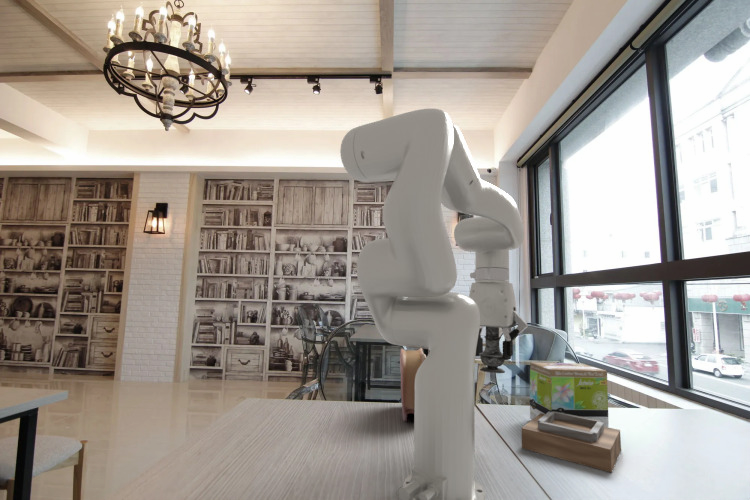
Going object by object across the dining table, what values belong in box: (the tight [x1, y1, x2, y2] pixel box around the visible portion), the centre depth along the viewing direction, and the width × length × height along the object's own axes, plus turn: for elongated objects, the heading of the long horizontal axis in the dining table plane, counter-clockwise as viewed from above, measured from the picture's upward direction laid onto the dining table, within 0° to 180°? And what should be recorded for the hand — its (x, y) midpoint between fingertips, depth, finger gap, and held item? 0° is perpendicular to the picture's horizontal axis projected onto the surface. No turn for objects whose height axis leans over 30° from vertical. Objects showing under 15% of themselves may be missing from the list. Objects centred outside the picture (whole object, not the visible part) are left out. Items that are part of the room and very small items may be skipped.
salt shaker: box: [479, 327, 506, 374], centre depth 84 cm, size 6×6×12 cm
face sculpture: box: [399, 348, 427, 423], centre depth 99 cm, size 20×7×17 cm, turn 179°
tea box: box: [529, 361, 609, 428], centre depth 94 cm, size 15×10×15 cm, turn 97°
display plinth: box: [521, 411, 622, 474], centre depth 78 cm, size 14×16×6 cm
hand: (492, 356), depth 83 cm, fingers closed on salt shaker, 5 cm apart
